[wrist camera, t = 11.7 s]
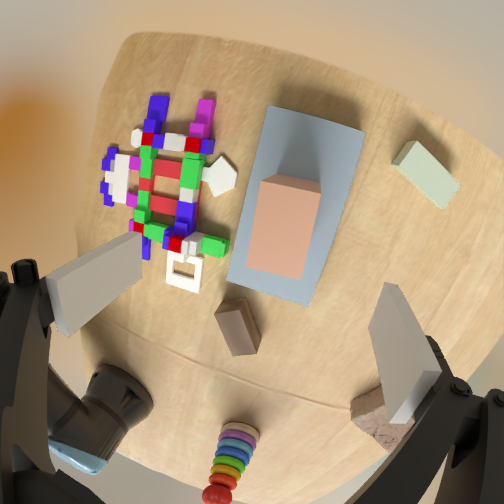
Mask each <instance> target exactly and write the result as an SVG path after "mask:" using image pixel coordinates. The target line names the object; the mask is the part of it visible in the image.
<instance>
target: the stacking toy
mask: <svg viewBox="0 0 504 504" xmlns="http://www.w3.org/2000/svg"><path fill="white" fill-rule="evenodd" d="M218 440H219V443H218V445H217V449H218V450H217V451H216V452H215V457H216V458H214V460H213V467H212V468H211V474H212V475H211V476H210V477H209V483H210V484H211V485H210V486H208V487H206V488H205V489H204V491H203V493H202V499H203V501H204V503H205V504H230V503H231V501H232V493H231V490H234V489H235V488H236V487H237V481H239V480H240V478H241V474H242V473H243V472H244V471H245V467H246V466H247V465H248V464H249V461H250V460H249V459H250V458H251V457H252V456H253V451H254V450H255V448H256V444H257V443H258V442H259V440H260V436H259V433H258V432H257V431H256V430H255V429H254V428H253V427H251V426H249V425H246V424H243V423H236V422H233V423H228V424H225V425H224V426H223V427H222V428H221V434H220V436H219V438H218Z"/></svg>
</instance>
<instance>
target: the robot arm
mask: <svg viewBox="0 0 504 504" xmlns="http://www.w3.org/2000/svg"><path fill="white" fill-rule="evenodd" d="M11 270H12V274H13V279H14V283H9V281H8V276H7V273H5V272H0V504H105V503H104V502H103V501H102V500H101V499H100V498H99V497H98V496H96V495H95V494H94V493H93V492H92V491H91V490H90V489H89V488H87V487H85V486H84V485H82V484H80V483H79V482H77V481H76V480H74V479H73V478H71V477H70V476H68V475H67V474H65V473H64V472H63V471H61V470H60V469H58V471H57V472H56V471H55V468H54V466H53V464H52V462H51V459H50V455H49V449H50V450H51V451H52V452H53V453H54V454H55V455H57V456H58V457H59V458H61V459H63V460H64V461H65V462H67V463H69V464H70V465H72V466H73V467H75V468H77V469H79V470H81V471H83V472H85V473H87V474H91V475H96V474H98V473H99V472H100V471H101V470H102V469H103V467H104V466H105V465H106V464H108V461H109V459H110V458H111V456H112V455H113V453H114V452H115V450H116V449H117V447H118V446H119V444H120V443H121V441H122V440H123V438H124V436H125V435H126V433H127V432H128V431H129V429H131V428H132V427H134V426H135V425H137V424H138V423H139V422H141V421H142V420H144V419H145V418H147V417H148V415H149V414H150V412H151V411H152V409H153V402H152V399H151V397H150V395H149V394H148V392H147V391H146V390H145V388H144V387H143V386H142V385H141V384H140V383H139V382H138V381H137V380H136V379H134V378H133V377H132V376H131V375H129V374H128V373H126V372H125V371H123V370H121V369H119V368H117V367H114V366H111V365H101V366H99V367H98V368H97V370H96V371H95V372H94V373H93V375H92V377H91V380H90V383H89V385H88V388H87V391H86V394H85V395H84V396H83V398H82V399H81V400H80V399H79V398H78V397H77V396H76V395H75V394H74V393H73V391H72V390H71V389H70V388H69V387H68V386H67V384H66V383H65V382H64V381H63V380H62V379H61V378H60V376H59V375H58V374H57V372H56V371H55V370H54V369H53V368H52V366H51V364H50V363H49V362H48V360H49V349H50V340H51V327H50V324H51V323H52V322H54V321H55V324H56V328H57V331H58V332H59V333H61V334H63V335H65V336H66V337H68V338H69V337H70V336H71V335H73V334H74V333H75V332H76V331H77V330H79V329H80V328H81V327H82V326H83V325H85V324H86V323H87V322H88V321H89V320H90V319H92V318H93V317H94V316H95V315H96V314H98V313H99V312H100V311H101V310H103V309H104V308H105V307H106V306H107V305H109V304H110V303H111V302H112V301H114V300H115V299H116V298H117V297H118V296H120V295H121V294H122V293H123V292H125V291H126V290H127V289H128V288H130V287H131V286H132V285H133V284H135V283H136V282H137V281H139V280H140V279H141V278H142V233H139V232H134V231H130V232H128V233H125V234H123V235H121V236H119V237H117V238H115V239H113V240H111V241H109V242H107V243H105V244H103V245H101V246H100V247H98V248H96V249H94V250H92V251H90V252H88V253H86V254H84V255H82V256H80V257H79V258H77V259H75V260H73V261H71V262H69V263H68V264H66V265H64V266H62V267H60V268H58V269H57V270H55V271H53V272H51V273H50V274H48V275H46V276H45V277H43V278H41V279H40V280H39V274H38V269H37V263H36V261H35V260H33V259H22V260H19V261H16V262H15V263H13V264H12V265H11ZM368 329H369V332H370V336H371V340H372V345H373V349H374V353H375V357H376V362H377V366H378V371H379V375H380V380H381V385H382V390H383V395H384V400H385V406H386V412H387V417H388V423H391V424H406V423H407V421H408V420H409V419H410V418H411V416H412V415H413V414H414V418H415V423H414V424H413V425H412V426H411V428H410V429H409V430H408V431H407V433H406V434H405V435H404V436H403V437H402V440H401V441H400V443H399V444H398V445H397V446H396V448H395V449H394V450H393V452H392V453H391V454H390V455H389V457H388V458H387V459H386V460H385V461H384V462H383V464H382V465H381V466H380V467H379V468H378V469H377V471H376V472H375V473H374V474H373V475H372V476H371V477H370V478H369V479H368V480H367V481H366V482H365V483H364V485H363V486H362V487H361V488H360V489H359V490H358V491H357V492H356V493H355V494H354V495H353V496H352V497H351V498H350V499H349V500H348V501H346V502H345V504H417V503H418V502H419V500H420V499H421V498H422V496H423V495H424V493H425V492H426V490H427V488H428V487H429V485H430V484H431V482H432V480H433V479H434V477H435V475H436V474H437V472H438V470H439V468H440V466H441V465H442V463H443V461H444V459H445V457H446V455H447V453H448V456H447V460H446V464H445V469H444V472H443V476H442V480H441V483H440V487H439V490H438V493H437V497H436V499H435V502H434V504H504V392H503V391H501V390H499V389H491V390H490V391H489V392H488V394H487V395H486V396H485V398H483V397H480V396H476V395H473V394H472V390H471V387H470V386H469V385H468V383H466V382H465V381H464V380H462V379H460V378H458V377H454V376H453V374H452V372H451V370H450V368H449V366H448V364H447V361H446V359H444V355H443V353H442V352H441V350H440V348H439V346H438V344H437V342H436V341H435V340H434V339H433V338H432V337H431V336H427V335H425V334H424V332H423V330H422V328H421V326H420V324H419V323H418V321H417V319H416V317H415V315H414V313H413V311H412V309H411V308H410V306H409V304H408V302H407V300H406V298H405V297H404V295H403V293H402V291H401V290H400V288H399V286H398V285H396V284H391V283H386V282H385V283H384V286H383V288H382V291H381V294H380V297H379V300H378V303H377V305H376V308H375V311H374V314H373V316H372V319H371V321H370V324H369V327H368Z"/></svg>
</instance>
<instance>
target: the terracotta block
mask: <svg viewBox="0 0 504 504" xmlns="http://www.w3.org/2000/svg"><path fill="white" fill-rule="evenodd" d="M320 197H321V186H320V183H318V182H314V181H309V180H305V179H301V178H296V177H291V176H287V175H282V174H277V173H276V174H274V175H272V176H270V177H268V178H265V179H263V180H261V182H260V187H259V193H258V199H257V205H256V210H255V216H254V222H253V228H252V233H251V239H250V245H249V251H248V256H247V262H246V267H248V268H252V269H256V270H260V271H264V272H268V273H272V274H276V275H280V276H285V277H289V278H293V279H297V280H300V279H301V275H302V272H303V268H304V264H305V260H306V256H307V252H308V248H309V244H310V240H311V236H312V232H313V227H314V223H315V219H316V215H317V210H318V206H319V201H320Z"/></svg>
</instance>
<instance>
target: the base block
mask: <svg viewBox="0 0 504 504" xmlns="http://www.w3.org/2000/svg"><path fill="white" fill-rule="evenodd" d="M365 134H366V133H365V132H362V131H360V130H357V129H354V128H351V127H348V126H345V125H342V124H338V123H335V122H332V121H329V120H325V119H322V118H318V117H315V116H311V115H308V114H304V113H300V112H296V111H292V110H288V109H284V108H280V107H275V106H271V105H268V108H267V112H266V116H265V120H264V124H263V128H262V132H261V136H260V140H259V144H258V148H257V152H256V156H255V160H254V164H253V168H252V172H251V176H250V180H249V184H248V188H247V192H246V196H245V200H244V205H243V209H242V213H241V217H240V221H239V226H238V230H237V234H236V238H235V243H234V247H233V251H232V256H231V260H230V264H229V269H228V273H227V278H226V281H229V282H232V283H235V284H238V285H241V286H244V287H247V288H250V289H253V290H257V291H260V292H263V293H266V294H269V295H272V296H275V297H278V298H281V299H285V300H288V301H291V302H294V303H297V304H301V305H304V306H307V307H308V306H309V303H310V301H311V298H312V296H313V293H314V291H315V288H316V285H317V283H318V280H319V277H320V275H321V272H322V269H323V267H324V264H325V261H326V259H327V256H328V253H329V250H330V247H331V245H332V242H333V239H334V236H335V233H336V230H337V227H338V224H339V221H340V218H341V215H342V212H343V209H344V206H345V203H346V200H347V196H348V193H349V190H350V187H351V184H352V180H353V177H354V174H355V170H356V167H357V163H358V160H359V156H360V153H361V149H362V145H363V142H364V138H365ZM276 173H277V174H282V175H287V176H291V177H296V178H301V179H305V180H309V181H314V182H318V183H320V186H321V197H320V201H319V206H318V210H317V215H316V219H315V223H314V227H313V232H312V236H311V240H310V244H309V248H308V252H307V256H306V260H305V264H304V268H303V272H302V275H301V279H300V280H297V279H293V278H289V277H285V276H280V275H276V274H272V273H268V272H264V271H260V270H256V269H252V268H248V267H246V262H247V256H248V251H249V245H250V239H251V233H252V228H253V222H254V216H255V210H256V205H257V199H258V193H259V187H260V182H261V180H263V179H265V178H268V177H270V176H272V175H274V174H276Z"/></svg>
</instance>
